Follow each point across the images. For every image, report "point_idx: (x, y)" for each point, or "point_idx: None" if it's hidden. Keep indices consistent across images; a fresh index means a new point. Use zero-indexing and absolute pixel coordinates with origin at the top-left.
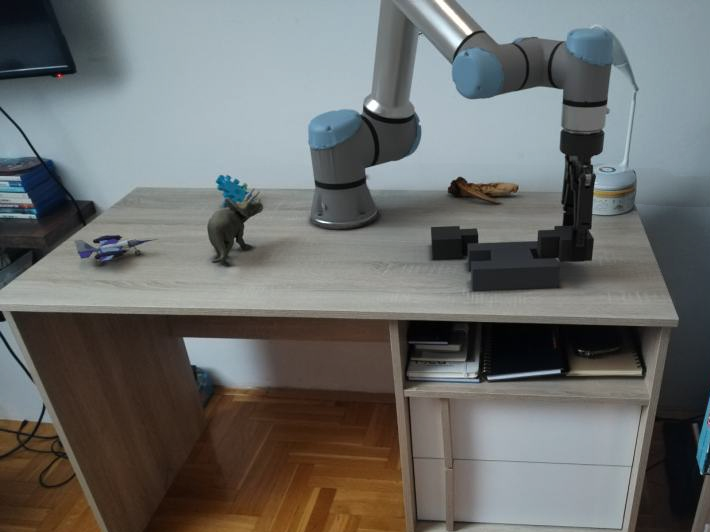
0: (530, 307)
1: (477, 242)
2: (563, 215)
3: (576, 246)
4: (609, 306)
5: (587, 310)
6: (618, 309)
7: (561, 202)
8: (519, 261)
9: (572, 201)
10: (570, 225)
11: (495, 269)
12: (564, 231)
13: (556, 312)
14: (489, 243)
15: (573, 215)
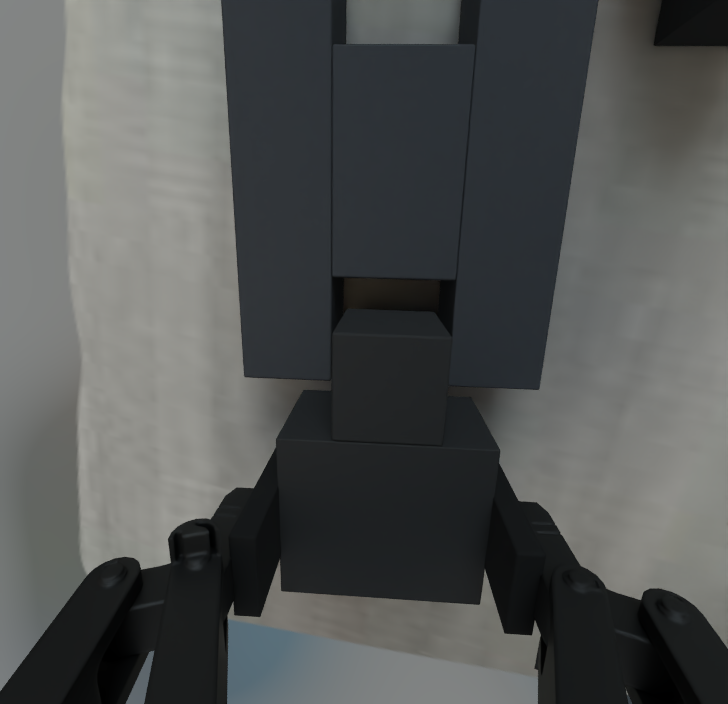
0: (124, 218)
1: (706, 2)
2: (529, 541)
3: (234, 490)
4: (144, 470)
5: (115, 402)
6: (127, 488)
7: (665, 601)
8: (302, 196)
9: (546, 692)
10: (487, 534)
11: (225, 45)
12: (402, 482)
13: (94, 303)
14: (578, 45)
15: (503, 596)
